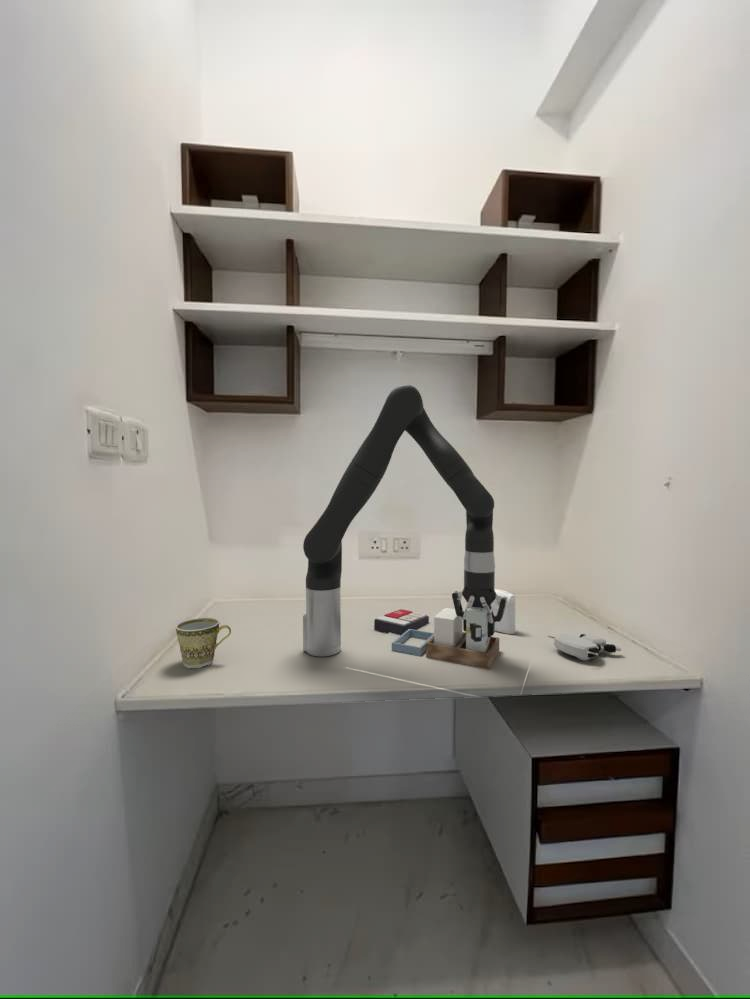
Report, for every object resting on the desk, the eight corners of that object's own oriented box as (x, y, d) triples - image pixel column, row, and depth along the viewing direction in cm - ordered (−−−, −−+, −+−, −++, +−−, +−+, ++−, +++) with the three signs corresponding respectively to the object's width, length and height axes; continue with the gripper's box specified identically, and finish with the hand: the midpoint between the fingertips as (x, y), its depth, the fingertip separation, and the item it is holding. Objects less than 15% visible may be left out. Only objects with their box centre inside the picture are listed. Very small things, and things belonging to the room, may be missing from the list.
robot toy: (582, 644, 120) (544, 650, 113) (583, 628, 120) (545, 633, 113) (624, 661, 109) (585, 667, 102) (625, 643, 109) (586, 649, 102)
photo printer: (479, 627, 131) (479, 588, 131) (487, 624, 134) (487, 585, 134) (510, 636, 124) (510, 594, 124) (517, 632, 127) (517, 591, 127)
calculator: (429, 613, 135) (404, 623, 123) (429, 627, 135) (403, 638, 123) (400, 607, 142) (373, 616, 129) (400, 620, 142) (373, 630, 129)
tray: (391, 652, 112) (391, 642, 112) (408, 637, 123) (408, 628, 123) (420, 657, 109) (420, 648, 108) (436, 642, 119) (436, 633, 119)
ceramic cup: (169, 672, 100) (168, 631, 100) (185, 655, 110) (184, 617, 110) (225, 671, 101) (225, 629, 101) (236, 654, 111) (236, 616, 111)
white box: (434, 655, 109) (434, 617, 108) (444, 643, 117) (444, 607, 116) (453, 659, 106) (453, 619, 106) (462, 646, 114) (462, 610, 114)
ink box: (472, 644, 113) (472, 600, 112) (491, 647, 111) (491, 602, 110) (465, 656, 105) (465, 609, 105) (485, 659, 103) (485, 611, 103)
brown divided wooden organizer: (426, 658, 108) (426, 643, 108) (440, 642, 119) (440, 628, 119) (489, 671, 101) (489, 654, 101) (499, 652, 112) (499, 637, 112)
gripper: (447, 568, 107) (447, 635, 108) (505, 573, 101) (505, 644, 101) (455, 563, 114) (455, 626, 114) (510, 568, 107) (510, 634, 108)
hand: (478, 634), depth 108 cm, fingers closed on ink box, 5 cm apart
